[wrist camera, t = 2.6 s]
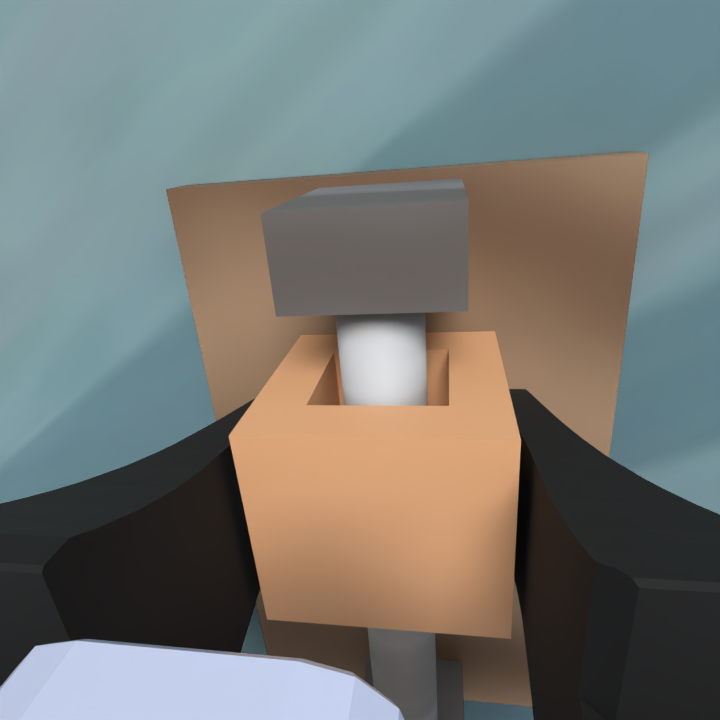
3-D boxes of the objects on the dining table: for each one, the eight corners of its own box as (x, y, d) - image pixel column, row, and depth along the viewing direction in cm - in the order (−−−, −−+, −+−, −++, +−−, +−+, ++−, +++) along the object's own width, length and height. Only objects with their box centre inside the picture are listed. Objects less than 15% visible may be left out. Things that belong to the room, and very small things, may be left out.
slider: (491, 481, 13) (511, 638, 9) (319, 476, 14) (266, 619, 10) (495, 331, 11) (521, 440, 7) (300, 335, 12) (228, 436, 8)
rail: (568, 680, 17) (610, 866, 13) (281, 654, 19) (231, 810, 15) (632, 151, 11) (757, 164, 6) (186, 184, 12) (46, 213, 8)
